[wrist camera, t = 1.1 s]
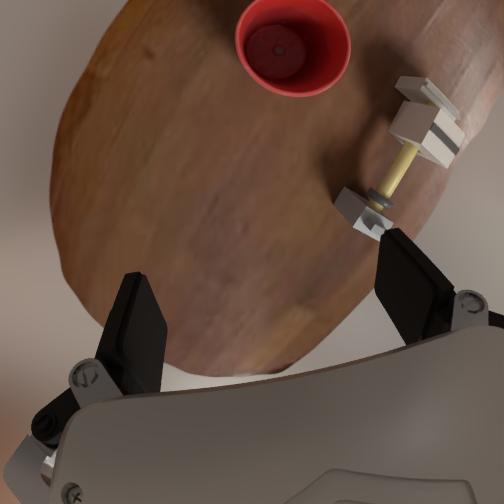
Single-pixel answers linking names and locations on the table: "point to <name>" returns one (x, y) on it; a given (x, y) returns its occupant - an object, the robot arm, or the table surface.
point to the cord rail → (369, 212)
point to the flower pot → (293, 45)
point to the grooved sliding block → (427, 132)
